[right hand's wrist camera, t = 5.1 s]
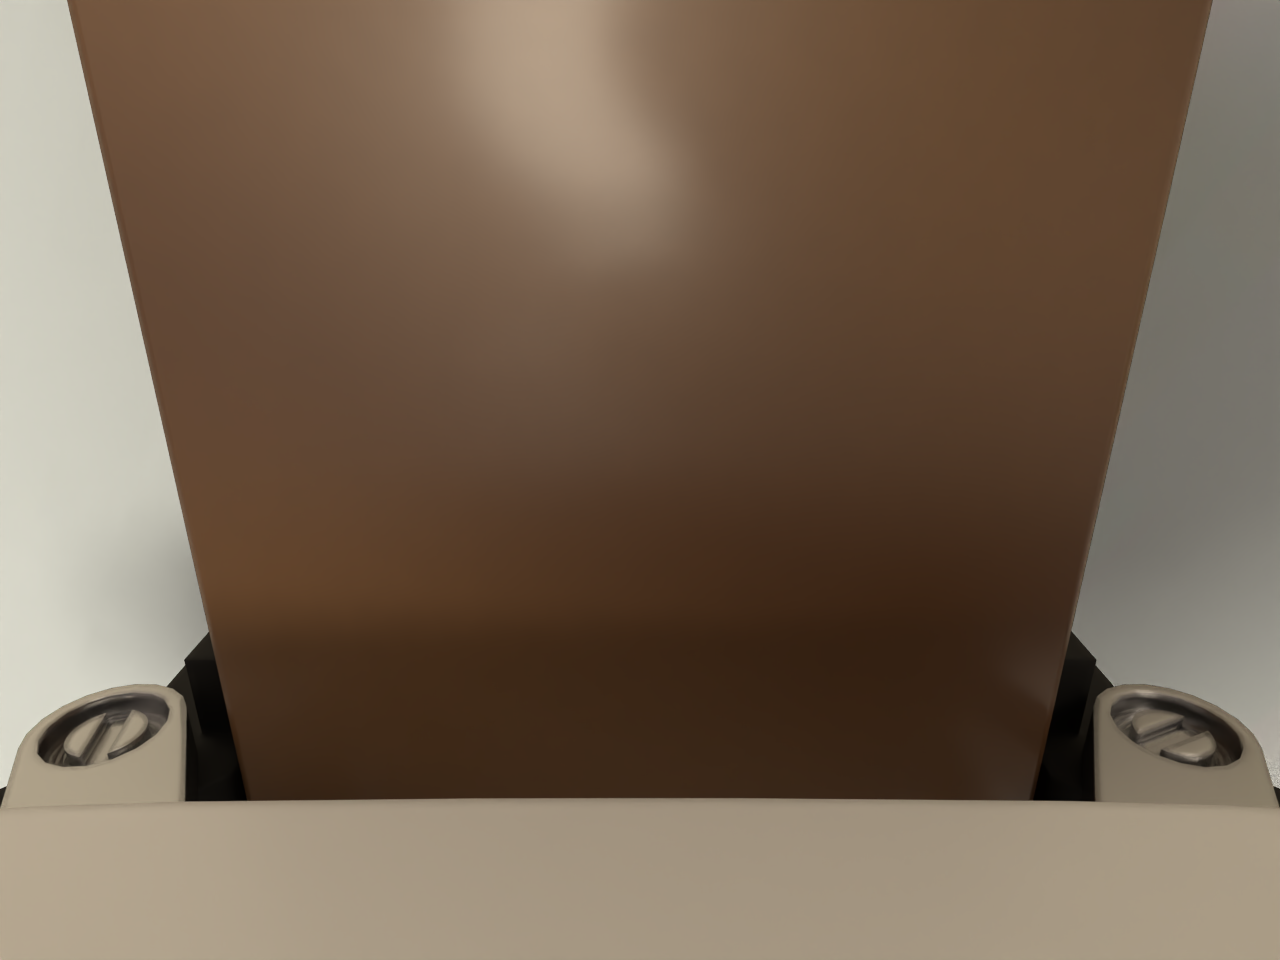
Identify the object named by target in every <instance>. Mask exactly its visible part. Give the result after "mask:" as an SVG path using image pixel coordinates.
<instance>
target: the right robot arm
mask: <svg viewBox="0 0 1280 960" xmlns="http://www.w3.org/2000/svg"><path fill="white" fill-rule="evenodd" d="M184 661H185V666H184V667H183V669H182V670H181V671H180V672H179V673H178V674H177V675H176V677H175V678H174V679H173V680H172V681H171V682H170V683H169V685H168V686H167V687H164V686H160V685H156V684H134V685H127V686H121V687H115V688H110V689H107V690H103V691H100V692H97V693H93V694H90V695H87V696H84V697H82V698H80V699H78V700H76V701H73V702H71V703H69V704H67V705H64V706H62V707H61V708H59V709H58V710H56V711H55V712H53V713H51V714H50V715H48V716H47V717H45V718H43V719H42V720H41V721H40V722H39V723H38V724H37V725H36V726H35V727H33V728H32V729H31V730H30V731H29V732H28V733H27V734H26V736H25V737H24V739H23V741H22V743H21V745H20V746H19V748H18V751H17V754H16V757H15V761H14V764H13V767H12V771H11V774H10V777H9V781H8V784H7V786H6V787H4V788H1V789H0V960H1280V789H1279V788H1277V787H1274V786H1273V784H1272V781H1271V777H1270V774H1269V771H1268V767H1267V764H1266V761H1265V757H1264V754H1263V751H1262V748H1261V746H1260V745H1259V743H1258V741H1257V739H1256V737H1255V736H1254V734H1253V733H1252V732H1251V731H1250V730H1249V729H1248V728H1247V727H1245V726H1244V725H1243V724H1242V723H1241V722H1240V721H1239V720H1238V719H1237V718H1235V717H1233V716H1232V715H1230V714H1229V713H1227V712H1225V711H1224V710H1222V709H1221V708H1219V707H1218V706H1216V705H1213V704H1211V703H1209V702H1207V701H1204V700H1202V699H1200V698H1198V697H1196V696H1193V695H1190V694H1187V693H1183V692H1180V691H1177V690H1173V689H1170V688H1165V687H1159V686H1153V685H1146V684H1124V685H1120V686H1116V687H1114V686H1113V685H1112V684H1111V683H1110V681H1109V680H1108V679H1107V678H1106V677H1105V676H1104V674H1103V673H1102V672H1101V671H1100V670H1099V669H1098V668H1097V666H1096V665H1095V664H1096V659H1095V658H1094V657H1093V655H1092V654H1091V653H1090V652H1089V651H1088V650H1087V649H1086V647H1085V646H1084V645H1083V644H1082V643H1081V642H1080V641H1079V640H1078V638H1077V637H1076V636H1075V635H1074V634H1073V633H1072V632H1071V634H1070V638H1069V642H1068V647H1067V651H1066V656H1065V660H1064V665H1063V669H1062V674H1061V678H1060V683H1059V687H1058V691H1057V696H1056V700H1055V705H1054V709H1053V714H1052V718H1051V723H1050V727H1049V732H1048V736H1047V741H1046V745H1045V749H1044V754H1043V758H1042V763H1041V767H1040V772H1039V776H1038V781H1037V785H1036V790H1035V794H1034V798H1033V801H998V800H884V799H771V798H471V799H381V800H291V801H247V798H246V793H245V789H244V784H243V780H242V775H241V771H240V767H239V762H238V758H237V753H236V749H235V744H234V740H233V735H232V731H231V727H230V722H229V718H228V713H227V709H226V704H225V700H224V695H223V691H222V686H221V682H220V678H219V673H218V669H217V664H216V660H215V655H214V651H213V646H212V642H211V638H210V633H209V632H208V634H207V635H206V636H205V637H204V638H203V639H202V640H201V642H200V643H199V644H198V645H197V646H196V647H195V648H194V650H193V651H192V652H191V653H190V654H189V655H188V656H187V658H186V659H185V660H184Z"/></svg>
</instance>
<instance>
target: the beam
mask: <svg viewBox="0 0 1280 960" xmlns="http://www.w3.org/2000/svg"><path fill="white" fill-rule="evenodd" d="M1212 1H1213V0H67V2H68V6H69V11H70V15H71V20H72V24H73V28H74V33H75V37H76V42H77V46H78V51H79V55H80V60H81V64H82V68H83V73H84V77H85V82H86V86H87V91H88V95H89V100H90V104H91V108H92V113H93V117H94V122H95V126H96V131H97V135H98V140H99V144H100V149H101V153H102V157H103V162H104V166H105V171H106V175H107V180H108V184H109V189H110V193H111V197H112V202H113V206H114V211H115V215H116V220H117V224H118V229H119V233H120V237H121V242H122V246H123V251H124V255H125V260H126V264H127V269H128V273H129V277H130V282H131V286H132V291H133V295H134V300H135V304H136V309H137V313H138V317H139V322H140V326H141V331H142V335H143V340H144V344H145V349H146V353H147V357H148V362H149V366H150V371H151V375H152V380H153V384H154V389H155V393H156V397H157V402H158V406H159V411H160V415H161V420H162V424H163V429H164V433H165V438H166V442H167V446H168V451H169V455H170V460H171V464H172V469H173V473H174V478H175V482H176V486H177V491H178V495H179V500H180V504H181V509H182V513H183V518H184V522H185V526H186V531H187V535H188V540H189V544H190V549H191V553H192V558H193V562H194V566H195V571H196V575H197V580H198V584H199V589H200V593H201V598H202V602H203V606H204V611H205V615H206V620H207V624H208V629H209V633H210V638H211V642H212V646H213V651H214V655H215V660H216V664H217V669H218V673H219V678H220V682H221V686H222V691H223V695H224V700H225V704H226V709H227V713H228V718H229V722H230V727H231V731H232V735H233V740H234V744H235V749H236V753H237V758H238V762H239V767H240V771H241V775H242V780H243V784H244V789H245V793H246V798H247V801H291V800H381V799H471V798H771V799H884V800H998V801H1033V798H1034V794H1035V790H1036V785H1037V781H1038V776H1039V772H1040V767H1041V763H1042V758H1043V754H1044V749H1045V745H1046V741H1047V736H1048V732H1049V727H1050V723H1051V718H1052V714H1053V709H1054V705H1055V700H1056V696H1057V691H1058V687H1059V683H1060V678H1061V674H1062V669H1063V665H1064V660H1065V656H1066V651H1067V647H1068V642H1069V638H1070V634H1071V629H1072V625H1073V620H1074V616H1075V611H1076V607H1077V602H1078V598H1079V593H1080V589H1081V585H1082V580H1083V576H1084V571H1085V567H1086V562H1087V558H1088V553H1089V549H1090V544H1091V540H1092V536H1093V531H1094V527H1095V522H1096V518H1097V513H1098V509H1099V504H1100V500H1101V495H1102V491H1103V486H1104V482H1105V478H1106V473H1107V469H1108V464H1109V460H1110V455H1111V451H1112V446H1113V442H1114V437H1115V433H1116V429H1117V424H1118V420H1119V415H1120V411H1121V406H1122V402H1123V397H1124V393H1125V388H1126V384H1127V380H1128V375H1129V371H1130V366H1131V362H1132V357H1133V353H1134V348H1135V344H1136V339H1137V335H1138V331H1139V326H1140V322H1141V317H1142V313H1143V308H1144V304H1145V299H1146V295H1147V290H1148V286H1149V281H1150V277H1151V273H1152V268H1153V264H1154V259H1155V255H1156V250H1157V246H1158V241H1159V237H1160V232H1161V228H1162V224H1163V219H1164V215H1165V210H1166V206H1167V201H1168V197H1169V192H1170V188H1171V183H1172V179H1173V175H1174V170H1175V166H1176V161H1177V157H1178V152H1179V148H1180V143H1181V139H1182V134H1183V130H1184V126H1185V121H1186V117H1187V112H1188V108H1189V103H1190V99H1191V94H1192V90H1193V85H1194V81H1195V76H1196V72H1197V68H1198V63H1199V59H1200V54H1201V50H1202V45H1203V41H1204V36H1205V32H1206V27H1207V23H1208V19H1209V14H1210V10H1211V5H1212Z"/></svg>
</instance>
